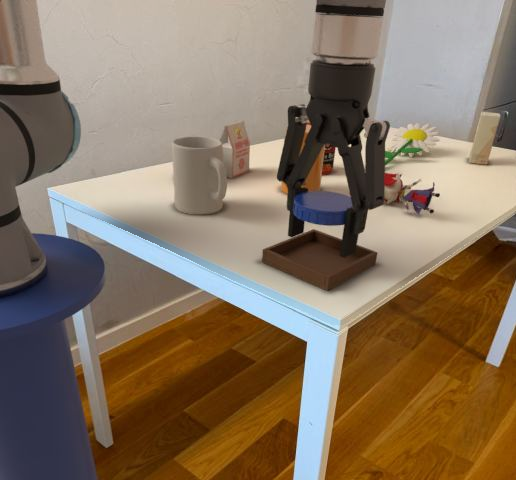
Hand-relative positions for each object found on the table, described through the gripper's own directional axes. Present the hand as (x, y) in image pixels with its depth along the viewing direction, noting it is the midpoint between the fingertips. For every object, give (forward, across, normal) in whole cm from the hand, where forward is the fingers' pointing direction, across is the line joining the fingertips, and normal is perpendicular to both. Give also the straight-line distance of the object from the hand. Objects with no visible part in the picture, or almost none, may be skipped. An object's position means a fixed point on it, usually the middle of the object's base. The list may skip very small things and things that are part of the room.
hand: (320, 243), depth 71 cm
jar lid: (-6, 0, 0) cm, 6 cm away
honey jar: (+3, +23, -25) cm, 34 cm away
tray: (+3, 0, 0) cm, 3 cm away
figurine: (+3, +4, -32) cm, 32 cm away
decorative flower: (+3, +23, -64) cm, 68 cm away
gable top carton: (+3, +40, -23) cm, 46 cm away
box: (+3, +9, -78) cm, 78 cm away
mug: (+3, +27, -3) cm, 28 cm away
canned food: (+3, +30, -39) cm, 49 cm away
